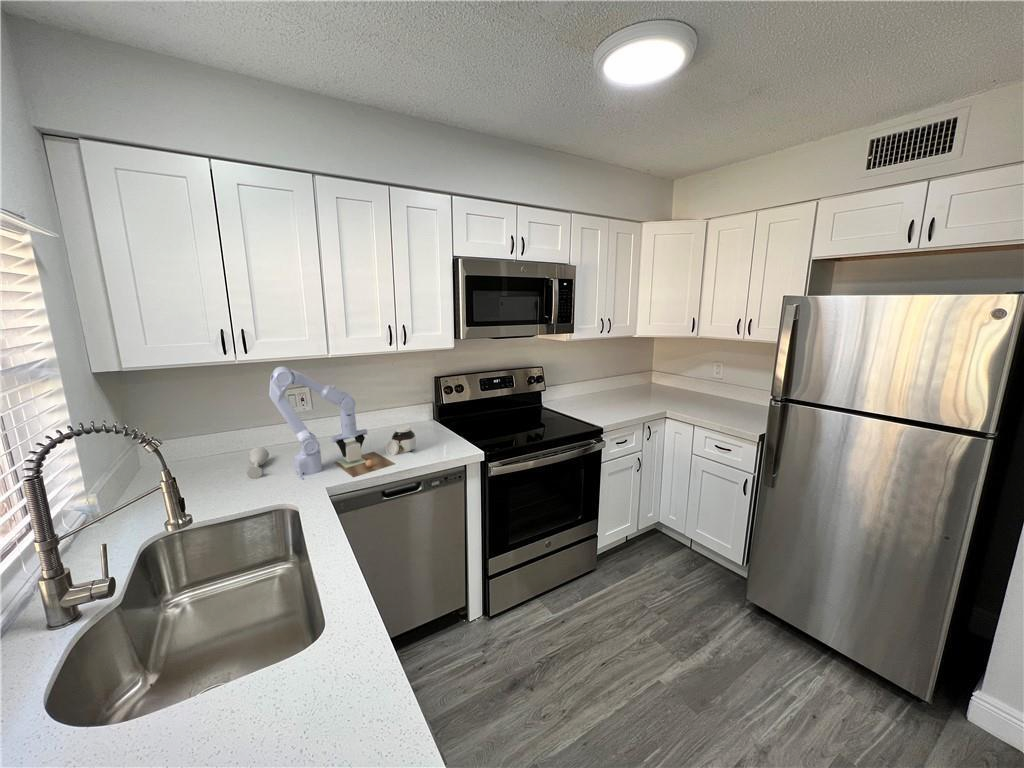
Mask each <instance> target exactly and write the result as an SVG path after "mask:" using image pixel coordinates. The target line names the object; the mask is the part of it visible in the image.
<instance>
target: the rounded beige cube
mask: <svg viewBox="0 0 1024 768" xmlns="http://www.w3.org/2000/svg"><path fill="white" fill-rule="evenodd" d="M345 443H346V457H343V456H342V460H344V459H345V460H346V461H348V462H350V461H354V460H357V459H361V455H362V447H361V446H360V443H358V442H357V441H355V439H354V440H350V441H346V442H345Z"/></svg>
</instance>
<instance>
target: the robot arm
mask: <svg viewBox="0 0 1024 768" xmlns="http://www.w3.org/2000/svg"><path fill="white" fill-rule="evenodd" d="M269 379H270V381H269V382H270V383H269V392H268V393H269V398H270V399H271V401H272V403H273V404H274V406H275V407H276V408H277V410H278V411H279V413H280V415H281V416H282V417H283V419H284V420H285V422H286V423H287V424H288V426H289V427H290V428H291V430H292V431H293V433H294V434H295V436H296V438H297V439H298V441H299V444H300V446H301V450H300V451H299V453H298V454H296V455H294V457H293V462H294V469H295V475H297V477H298V478H299V479H301V480H304V479H305V478H304V477H306V476H310V475H315V474H318V473H320V472H322V471H323V462H322V454H321V448H320V447H321V445H320V442H319V441H318V439H317V436H316V435H315V434H314V433H312V432H311V431H310V430H309V429H308V428H307V426H306V425H305V424H304V422H303V420H302V419H301V417H300V415H298V413H297V411H296V410H295V408H294V407H293V406H292V404H291V403H290V401H289V399H288V398H287V396H286V392H287V391H288V388H289V387H290V386H291V385H292V386H297V385H301V386H304V387H306V388H308V389H310V390H313V391H314V392H317V393H319V394H320V398H321V399H324V400H325V401H327V402H329V403H331V404H334V405H336V406H337V405H338V406H339V411H340V412H339V417H340V427H341V433H340V434H337V435H334V436H331V437H330V440H331V441H330V442H331V443H334V444H335V443H336V445H337V446H338V448H339V450H340V452H341V454H342V458H343V457H346V442H345V440H349V439H352V438H354V440H355V441H357V442H358V443H360V446H361V448H362V446H363V443H364V440H365V438H366V437H365V435H367V436H368V430H367V429H359V430H357V420H356V412H355V407H356V404H357V403H356V401H355V399H354V398H353V397H352V396H351V395H350V394H348V393H347V392H346V391H342V390H339V389H338V388H336V386H335V385H329V384H328V385H322V384H321V383H319V382H317V381H316V380H314V379H312V378H310V377H308V376H307V375H305V374H303V373H300V372H299V371H296V370H294V369H289V368H288V367H286V366H277V367H276V368H275V369H274V370H273V371H272V373H271V375H270V378H269Z"/></svg>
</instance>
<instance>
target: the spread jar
mask: <svg viewBox="0 0 1024 768" xmlns="http://www.w3.org/2000/svg"><path fill="white" fill-rule="evenodd" d="M394 430H395V431H394V432H393V435H392V436H391V440H389V441H387V443H386V445H385V453H386V454H389V453H390V454H392V455H393V456H396V455H397V454H398V453H400V454H401V453H412V452H414V450H415V448H416V446H417V443H416V440H417V439H416V435H415V432H414V431H413V430H412V426H411V424H410V425H409V424H399V425H397V426H395V428H394Z"/></svg>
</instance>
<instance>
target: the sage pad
mask: <svg viewBox="0 0 1024 768" xmlns="http://www.w3.org/2000/svg"><path fill="white" fill-rule="evenodd" d="M336 462H338V463H340V464H341V465H342V466H344V467H345V468H349V467H352V466H356V465H359V464H362V463H366V460H364V459H363V458H361V459H357V460H354V461H350V462H348V461H346V460H345V459H341V460H337V461H336Z"/></svg>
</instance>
